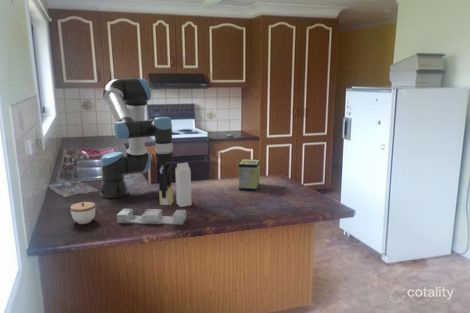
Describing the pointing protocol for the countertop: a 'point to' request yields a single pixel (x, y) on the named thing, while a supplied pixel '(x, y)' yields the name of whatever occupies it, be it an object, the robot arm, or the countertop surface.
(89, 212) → the lidded jar
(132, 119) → the robot arm
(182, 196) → the milk
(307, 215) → the countertop surface
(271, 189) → the countertop surface
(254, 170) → the protein box
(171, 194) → the nut block
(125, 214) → the rail
